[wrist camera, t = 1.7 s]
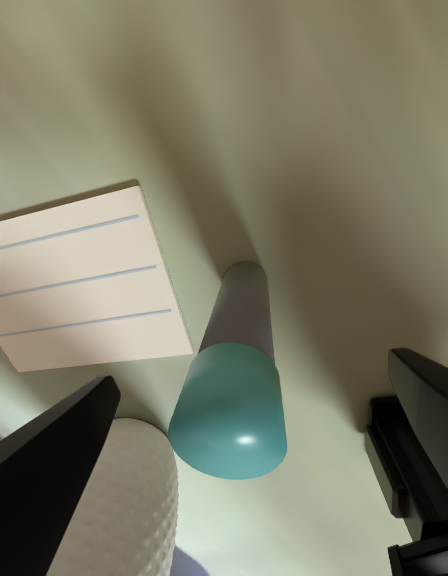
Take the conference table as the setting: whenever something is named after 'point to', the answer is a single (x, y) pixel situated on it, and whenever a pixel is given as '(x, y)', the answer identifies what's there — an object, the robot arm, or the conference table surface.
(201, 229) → the conference table surface
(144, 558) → the mug
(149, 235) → the paper
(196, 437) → the marker
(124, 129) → the conference table surface
